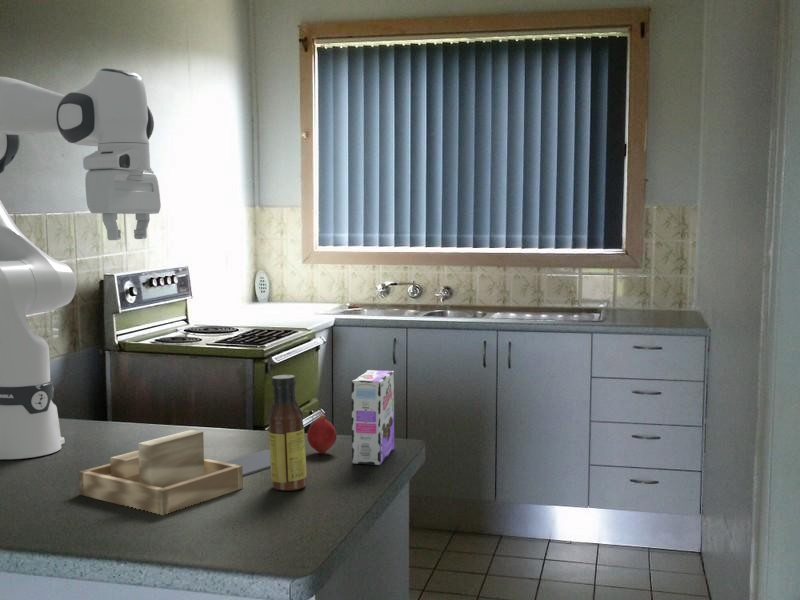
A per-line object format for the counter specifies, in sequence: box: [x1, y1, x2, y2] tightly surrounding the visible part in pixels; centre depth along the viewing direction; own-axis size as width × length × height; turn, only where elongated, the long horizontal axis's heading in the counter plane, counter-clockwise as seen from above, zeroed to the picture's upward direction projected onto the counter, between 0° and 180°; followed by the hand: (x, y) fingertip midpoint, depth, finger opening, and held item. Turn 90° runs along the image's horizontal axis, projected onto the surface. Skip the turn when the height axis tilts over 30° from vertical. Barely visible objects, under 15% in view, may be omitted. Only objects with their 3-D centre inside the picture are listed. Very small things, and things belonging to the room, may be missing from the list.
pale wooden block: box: [137, 429, 205, 488], centre depth 165 cm, size 3×12×10 cm, turn 146°
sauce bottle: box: [268, 374, 308, 492], centre depth 169 cm, size 7×6×20 cm
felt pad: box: [224, 448, 271, 477], centre depth 186 cm, size 9×17×1 cm, turn 146°
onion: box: [306, 414, 337, 455], centre depth 193 cm, size 6×6×8 cm
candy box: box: [351, 369, 395, 466], centre depth 190 cm, size 14×6×16 cm, turn 168°
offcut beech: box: [110, 450, 139, 478], centre depth 171 cm, size 4×8×3 cm, turn 147°
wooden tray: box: [78, 457, 244, 516], centre depth 167 cm, size 21×18×4 cm
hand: (127, 239), depth 171 cm, fingers open, 8 cm apart
